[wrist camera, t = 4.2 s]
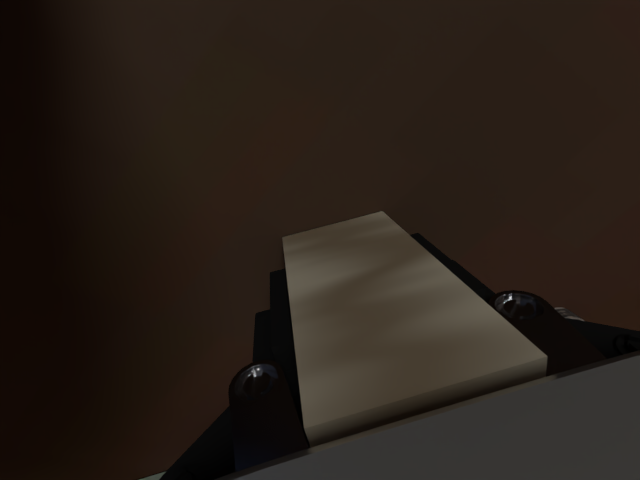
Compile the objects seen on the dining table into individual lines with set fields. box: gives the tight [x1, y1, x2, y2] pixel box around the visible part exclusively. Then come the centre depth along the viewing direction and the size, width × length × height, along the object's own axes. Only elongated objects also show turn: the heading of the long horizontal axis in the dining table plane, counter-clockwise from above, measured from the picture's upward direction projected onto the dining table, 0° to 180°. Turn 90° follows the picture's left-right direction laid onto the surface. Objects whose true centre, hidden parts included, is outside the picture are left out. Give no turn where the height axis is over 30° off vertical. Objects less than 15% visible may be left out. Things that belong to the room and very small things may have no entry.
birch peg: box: [282, 211, 548, 448], centre depth 9 cm, size 4×4×8 cm
